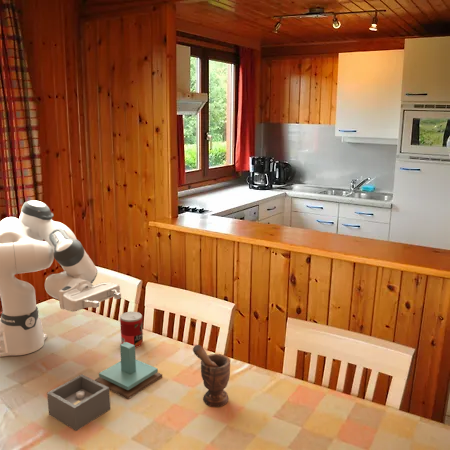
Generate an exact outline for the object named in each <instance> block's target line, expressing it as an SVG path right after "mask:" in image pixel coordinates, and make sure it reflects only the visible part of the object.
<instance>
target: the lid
mask: <svg viewBox="0 0 450 450" xmlns="http://www.w3.org/2000/svg"><path fill="white" fill-rule="evenodd" d="M119 347H120V361H118V362H117V363H115V364H113V365H112V366H110V367H108V368H106V369H104V370H102V371H101V372H99V373H98V376H99V377H101V378H103V379H105V380H107V381H109V382H112V383H114V384H116V385H118V386H120V387H122V388H124V389H126V390H130V389H131V388H133V387H134V386H136V385H138V384H139V383H141V382H142V381H144V380H146V379H147V378H149V377H150V376H152V375H154V374H155V373H157V372H158V373H159V370H158V368H157V367H155V366H154V365H150V364H148V363H146V362H143V361H141V360H139V359H136V347H135V345H133V344H130V343H128V342H125V343H123V344H122V343H121V344H120V346H119ZM99 377H98V378H99Z"/></svg>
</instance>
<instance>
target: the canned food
mask: <svg viewBox="0 0 450 450" xmlns="http://www.w3.org/2000/svg"><path fill="white" fill-rule="evenodd" d="M119 319H120V320H119V323H120V325H119V326H120V340H121V344H123V343H125V342H128V343H130V344H133V345H135V348H138V347H140V346H142V345H143V342H144V341H143V340H144V338H143V337H144V336H143V332H144V331H143V315H142V314H141V313H140V312H139V311H127V312H123V313H122V314H121V315H119Z"/></svg>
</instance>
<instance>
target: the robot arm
mask: <svg viewBox="0 0 450 450" xmlns="http://www.w3.org/2000/svg"><path fill="white" fill-rule="evenodd" d="M53 217H54V213H53V212H52V211H51V209H50V207H49V206H48V205H47V204H46V203H45V202H42V201H39V200H34V199H33V200H32V199H31V200H27V201H25V202H24V203H23V205H22V207H21V212H20V215H19V218H17V217H14V216H9V217H8V216H7V217H5V218H3V219H2V220H0V301H1V306H2V308H1V310H0V315H1V316H0V357H7V356H23V355H28V354H31V353H34V352H37V351H38V350H40V349H41V348H43V346H44V345H45V340H47V337H48V335H47V333H44V328H43V322H42V321H43V320H42V318H40V316H39V314H40V313H39V309H38V308H39V307H38V306H37V300H36V299H37V298H36V289H35V287H34V286H33V285H32V284H31V283H29V282H28V281H24V280H22V279H18V278H17V277H16V276H15V275H18V274H19V275H20V274H25V273H35V272H38V271H43V270H46V269H49V268H50V267H51V266H52V264H53V262H54V260H55V261H56V262H57V263H58V264H59V265H60V266H61V268H62V269H63V271H61V272H59V273H52V274H49V275H47V277H46V279H45V280H44V289H45V291H46V293H47V294H48V295H49V296H50V297H51V298H54V299H55V300H58V301H59V308H60V309H61V310H66V311H69V312H72V313H73V312H78V311H81V310H84V309H85V308H87V309H88V308H94V309H96V308H99V307H100V303H101V302H104V301H106V300H108V299H111V298H113V299H115V300H118V299H121V298H122V293H121V287H120V284H118V283H114V282H109V281H104V282H99V283H96V284H94V285H93V283H94V282H95V280H96V278H97V276H98V268H97V266H96V265H95V263H94V262H93V260H92V259H91V258H90V256H89V254H88V253H87V252H86V250H85V248H84V247H83V244H82V243H81V241H79V239H77V237H76V235H75V233H74V231H72V229H71V228H70V227H68V226H67V225H66V224H64V223H62V222H60V221H55V220H54V219H53Z"/></svg>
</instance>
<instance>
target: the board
mask: <svg viewBox="0 0 450 450" xmlns="http://www.w3.org/2000/svg"><path fill="white" fill-rule="evenodd" d="M162 378H163V374H162V373H160V372H159V371H158V372H157V373H155V374H154V375H152V376H150V377H149V378H147V379H146V380H144V381H142V382H141V383H139V384H138V385H136V386H134V387H133V388H131V389H130V390H126V389H124V388H122V387H120V386H118V385H116V384H114V383H112V382H109V381H107V380H105V379H103V378H101V377H97V378H95V379H94V380H95V381H97V382H99V383H101V384H103V385H105V386H107V387H109V391H111V392H113V393H114V394H117V395H119V396H120V397H122V398H124V399H127V400H129V399H130V398H133V396H135V395H137V394H139V393H140V392H141V391H143V390H144V389H146V388H148V387H149V386H151V385H153V384H154V383H155V382H156V381H158V380H159V379H162Z"/></svg>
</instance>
